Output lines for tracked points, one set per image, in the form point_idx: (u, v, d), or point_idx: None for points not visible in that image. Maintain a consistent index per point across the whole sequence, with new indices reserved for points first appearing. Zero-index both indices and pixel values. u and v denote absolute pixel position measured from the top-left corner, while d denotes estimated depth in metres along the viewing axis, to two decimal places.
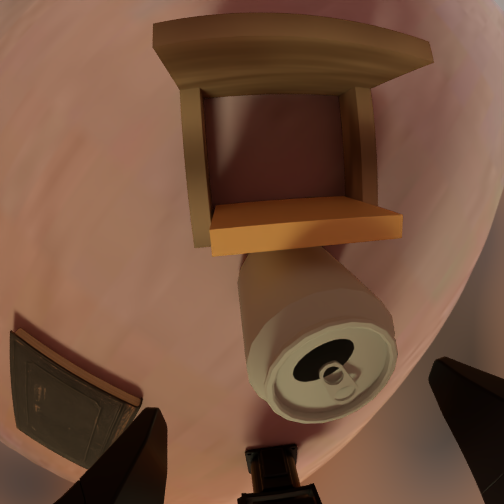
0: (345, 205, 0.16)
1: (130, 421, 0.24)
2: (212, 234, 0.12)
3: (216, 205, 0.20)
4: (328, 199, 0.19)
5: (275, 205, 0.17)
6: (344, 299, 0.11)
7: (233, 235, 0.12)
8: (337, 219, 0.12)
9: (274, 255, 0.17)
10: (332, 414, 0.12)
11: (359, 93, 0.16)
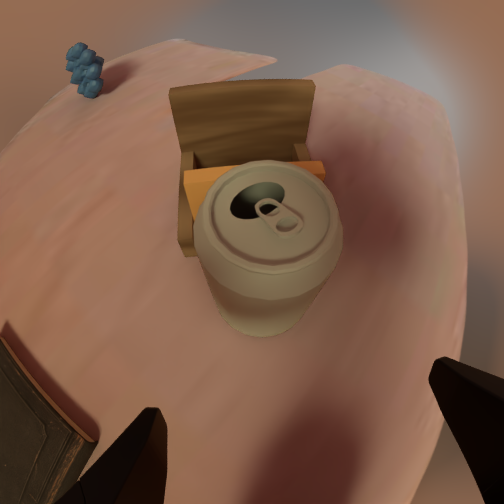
0: None
1: (75, 465, 0.14)
2: (185, 173, 0.18)
3: None
4: None
5: None
6: None
7: (198, 172, 0.18)
8: None
9: None
10: None
11: (297, 146, 0.27)
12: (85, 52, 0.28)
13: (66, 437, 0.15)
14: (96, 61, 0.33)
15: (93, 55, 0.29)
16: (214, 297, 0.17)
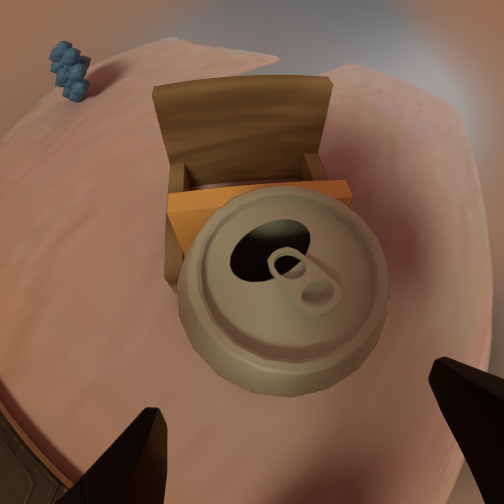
0: None
1: None
2: (170, 196, 0.14)
3: None
4: None
5: None
6: None
7: (187, 196, 0.14)
8: (279, 183, 0.14)
9: (240, 269, 0.16)
10: (315, 358, 0.07)
11: (308, 157, 0.23)
12: (68, 51, 0.24)
13: (53, 488, 0.10)
14: (82, 61, 0.29)
15: (77, 54, 0.25)
16: None
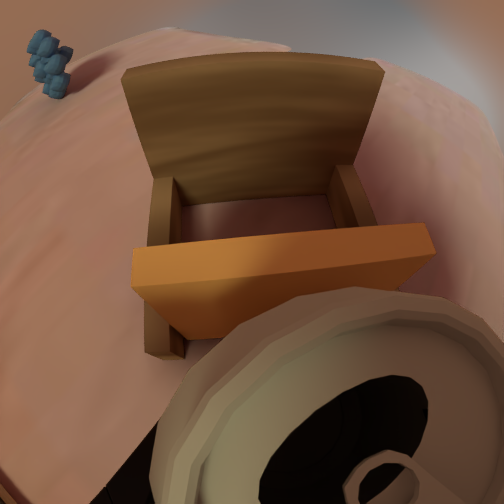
0: None
1: None
2: (136, 254, 0.08)
3: None
4: None
5: None
6: None
7: (165, 255, 0.08)
8: (327, 230, 0.08)
9: None
10: None
11: (342, 169, 0.17)
12: (45, 40, 0.18)
13: None
14: (62, 52, 0.23)
15: (55, 44, 0.19)
16: None
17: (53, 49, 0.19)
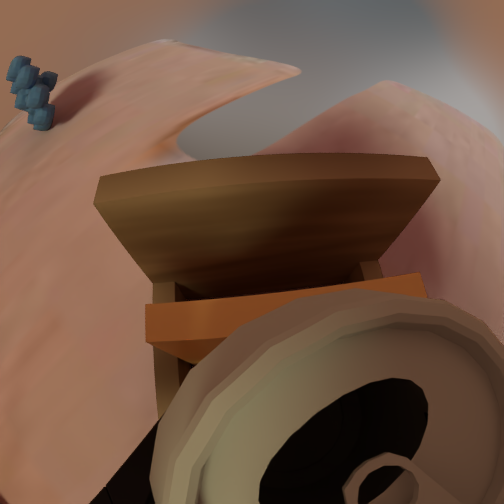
0: None
1: None
2: (148, 310, 0.08)
3: None
4: None
5: None
6: (368, 298, 0.05)
7: (176, 313, 0.08)
8: (327, 286, 0.09)
9: None
10: None
11: (366, 268, 0.15)
12: (22, 70, 0.16)
13: None
14: (45, 79, 0.21)
15: (34, 73, 0.17)
16: None
17: (32, 80, 0.17)
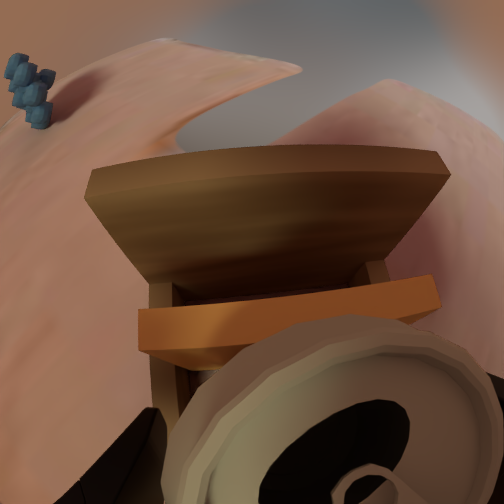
0: None
1: None
2: (142, 316, 0.07)
3: None
4: None
5: None
6: (361, 325, 0.05)
7: (171, 319, 0.07)
8: (335, 290, 0.08)
9: None
10: None
11: (371, 269, 0.14)
12: (20, 68, 0.15)
13: None
14: (43, 77, 0.20)
15: (32, 71, 0.17)
16: None
17: (30, 77, 0.17)
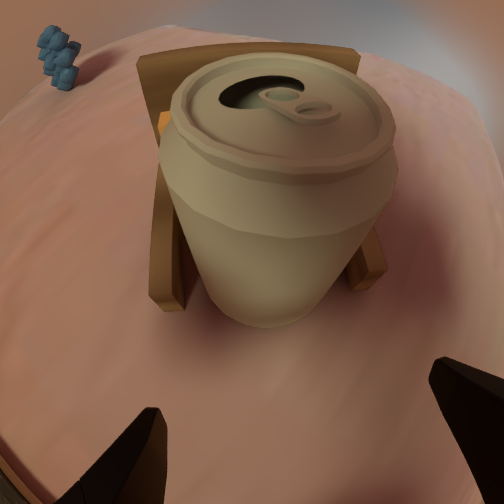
0: None
1: None
2: (162, 114, 0.12)
3: None
4: None
5: None
6: None
7: None
8: None
9: None
10: None
11: None
12: (56, 35, 0.19)
13: None
14: (71, 47, 0.24)
15: (65, 38, 0.21)
16: (195, 262, 0.12)
17: (63, 43, 0.21)
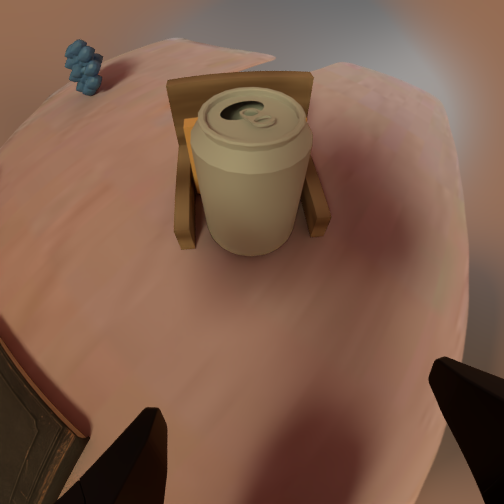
0: None
1: (66, 461, 0.13)
2: (185, 120, 0.20)
3: None
4: None
5: None
6: None
7: (196, 119, 0.20)
8: None
9: None
10: None
11: None
12: (84, 49, 0.28)
13: (57, 432, 0.14)
14: (95, 58, 0.33)
15: (92, 52, 0.29)
16: (205, 205, 0.20)
17: (91, 56, 0.29)
